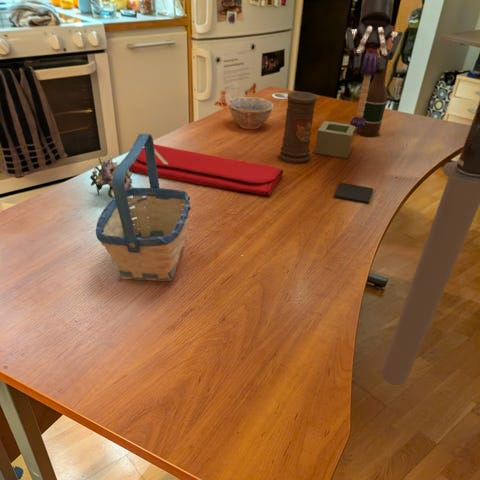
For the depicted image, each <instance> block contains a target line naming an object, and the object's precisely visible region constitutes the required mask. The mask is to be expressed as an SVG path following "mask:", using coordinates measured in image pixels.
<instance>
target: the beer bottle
mask: <svg viewBox="0 0 480 480" xmlns="http://www.w3.org/2000/svg"><path fill="white" fill-rule="evenodd" d="M377 57H378V65H379V60H380V57H379V56H377ZM389 62H390V60H389V59H387V60H386V63H385V69H384V71H383V73H381V74H380V75H377V74H375V75H373V79H372V81H371V82H370V84H369V86H368V87H369V89H368V92H367V98H366V104H365V105H364V106H365V109H364V111H363V118H364V119H365V120H366V126H365V127H356V133H358V134H359V136H364V137H377V135H379V133H380V129H381V126H382V121H383V117H384V114H385V109H386V104H387V101H388V100H387V99H388V89H387V86H386V77H387V71H388V67H389V66H388V65H389ZM377 73H378V72H377Z"/></svg>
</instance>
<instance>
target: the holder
mask: <svg viewBox="0 0 480 480" xmlns="http://www.w3.org/2000/svg"><path fill="white" fill-rule="evenodd" d="M356 132H357V127H355V126H352V125H351V124H350V123H341V122H336V121H329V120H328V121H327V120H324V121H323V122H322V123H321V125H320V126H319V128H318V129H317V133H316V140H315V147H314V154H318V155H325V156H330V157H335V158H343V159H348V158H349V155H350V153H351V151H352V148H353V145H354V140H355V137H356Z"/></svg>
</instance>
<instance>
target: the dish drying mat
mask: <svg viewBox="0 0 480 480" xmlns="http://www.w3.org/2000/svg"><path fill="white" fill-rule="evenodd" d="M154 150H155V158H156V166H157V174H158V177H161V178H165V179H166V178H167V179H171V180H175V181H176V180H178V181H183V182H188V183H192V184H198V185H205V186H209V187H210V186H211V187H216V188H221V189H228V190H234V191H238V192H239V191H240V192H245V193H251V194H257V195H262V196H271V194H272V192H273V190H274V188H275V186H276V185H277V184H278V182H279V181H280V180H281V177H282V176H283V174H284V169H282V168H278V167H275V166H272V165H268V164H264V163H263V164H262V163H256V162H250V161H244V160H239V159H234V158H228V157H227V158H226V157H222V156H216V155H212V154H211V155H210V154H207V153H200V152H195V151H189V150H184V149H178V148H174V147H169V146H164V145H159V144H156V143H154ZM128 172H133V173H139V174H145V175H148V170H147V163H146V156H145V149H144V147H143V149H142V151H141V153H140V155H139V156H138V158H137V159H136V160H135V162H134V163H133V164H132V165H131V167H130V168H129V169H128Z"/></svg>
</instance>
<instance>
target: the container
mask: <svg viewBox="0 0 480 480" xmlns="http://www.w3.org/2000/svg"><path fill="white" fill-rule="evenodd" d="M317 99H318V97H317V95H316V94H314V93H312V92H309V91H291V92H288V93H287V107H286V114H285V122H284V130H283V131H284V132H283V138H282V146H281V147H280V152H279V158H280V159H281V160H283V161H285V162H287V163H294V164H302V163H307V162H308V161H309V159H310V157H311V156H310V152H311V150H310V144H311V136H312V129H313V121H314V114H315V105H316V102H317Z"/></svg>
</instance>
